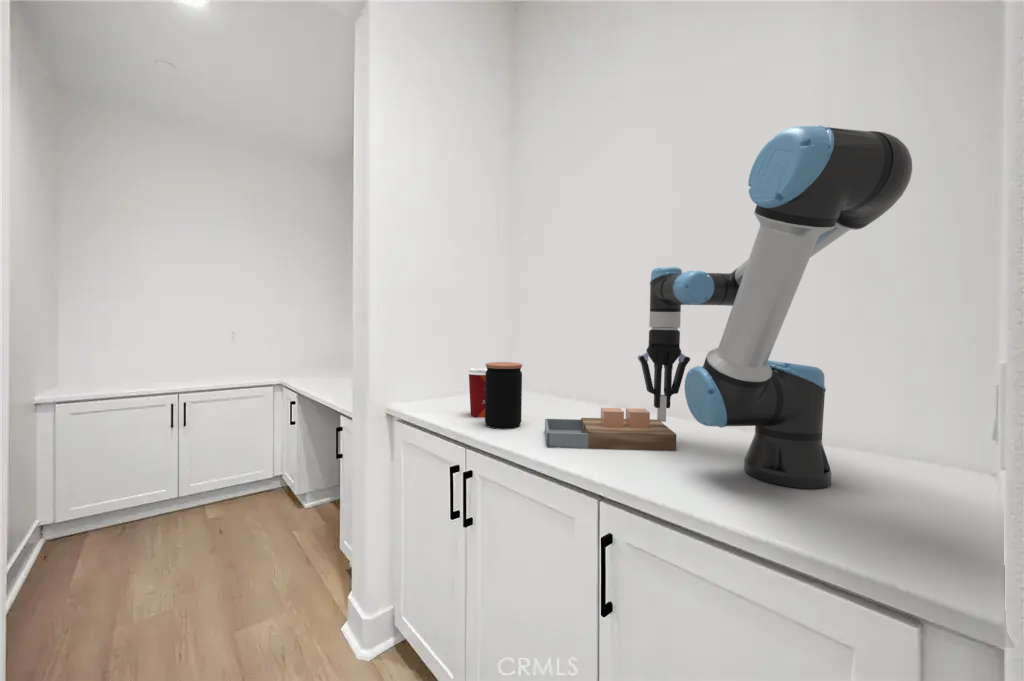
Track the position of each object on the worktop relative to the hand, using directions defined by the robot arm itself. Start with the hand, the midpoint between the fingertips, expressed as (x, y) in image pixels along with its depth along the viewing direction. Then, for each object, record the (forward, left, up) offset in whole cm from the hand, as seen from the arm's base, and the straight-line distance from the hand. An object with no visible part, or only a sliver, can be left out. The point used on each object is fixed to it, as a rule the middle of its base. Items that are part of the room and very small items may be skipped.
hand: (661, 420), depth 117 cm
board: (0, +9, -6) cm, 11 cm away
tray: (0, +25, -6) cm, 25 cm away
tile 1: (0, +13, -2) cm, 13 cm away
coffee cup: (+26, +50, -6) cm, 56 cm away
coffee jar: (+14, +42, -6) cm, 44 cm away
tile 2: (0, +6, -2) cm, 6 cm away
